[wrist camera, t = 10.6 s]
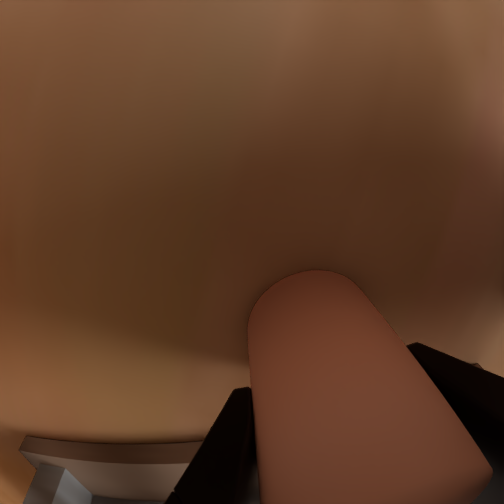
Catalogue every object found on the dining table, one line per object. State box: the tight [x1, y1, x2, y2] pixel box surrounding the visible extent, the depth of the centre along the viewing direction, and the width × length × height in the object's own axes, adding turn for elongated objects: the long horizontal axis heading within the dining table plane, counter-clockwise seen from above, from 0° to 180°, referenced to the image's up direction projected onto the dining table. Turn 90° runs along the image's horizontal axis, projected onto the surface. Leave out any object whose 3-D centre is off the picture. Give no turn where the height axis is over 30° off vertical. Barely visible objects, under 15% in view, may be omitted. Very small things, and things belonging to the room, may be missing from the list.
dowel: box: [247, 270, 493, 504], centre depth 6 cm, size 4×4×7 cm
